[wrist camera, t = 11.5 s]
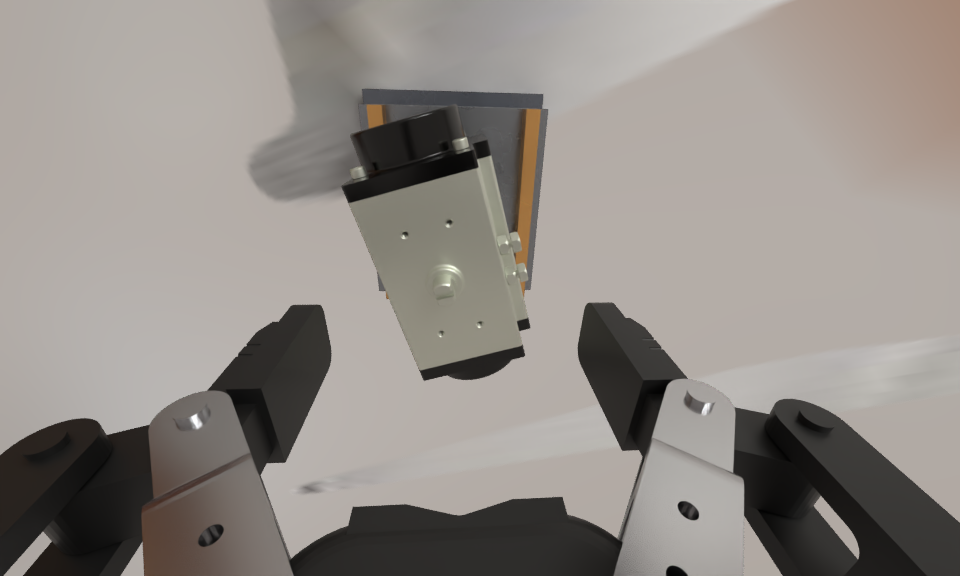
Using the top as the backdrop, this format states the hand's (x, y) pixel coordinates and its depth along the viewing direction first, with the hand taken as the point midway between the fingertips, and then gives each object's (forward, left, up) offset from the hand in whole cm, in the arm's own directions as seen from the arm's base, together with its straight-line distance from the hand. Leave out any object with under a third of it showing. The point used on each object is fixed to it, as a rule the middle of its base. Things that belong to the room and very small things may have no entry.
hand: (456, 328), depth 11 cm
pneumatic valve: (0, 0, -14) cm, 14 cm away
